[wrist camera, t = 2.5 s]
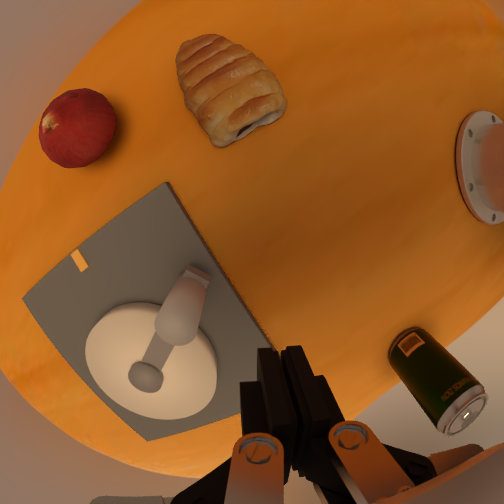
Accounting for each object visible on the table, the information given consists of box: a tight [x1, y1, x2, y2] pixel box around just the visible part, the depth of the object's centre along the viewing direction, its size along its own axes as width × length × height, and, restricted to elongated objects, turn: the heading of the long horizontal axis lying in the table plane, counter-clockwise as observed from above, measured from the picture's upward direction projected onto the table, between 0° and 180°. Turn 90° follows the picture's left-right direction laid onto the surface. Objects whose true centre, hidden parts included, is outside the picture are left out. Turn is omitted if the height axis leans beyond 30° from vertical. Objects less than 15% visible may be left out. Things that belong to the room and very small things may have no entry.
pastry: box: [176, 34, 287, 147], centre depth 17 cm, size 9×7×4 cm
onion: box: [39, 88, 116, 168], centre depth 15 cm, size 6×6×8 cm
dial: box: [85, 265, 217, 420], centre depth 19 cm, size 16×12×7 cm
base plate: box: [22, 182, 281, 441], centre depth 24 cm, size 20×22×1 cm
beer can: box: [389, 328, 488, 438], centre depth 20 cm, size 5×5×12 cm
